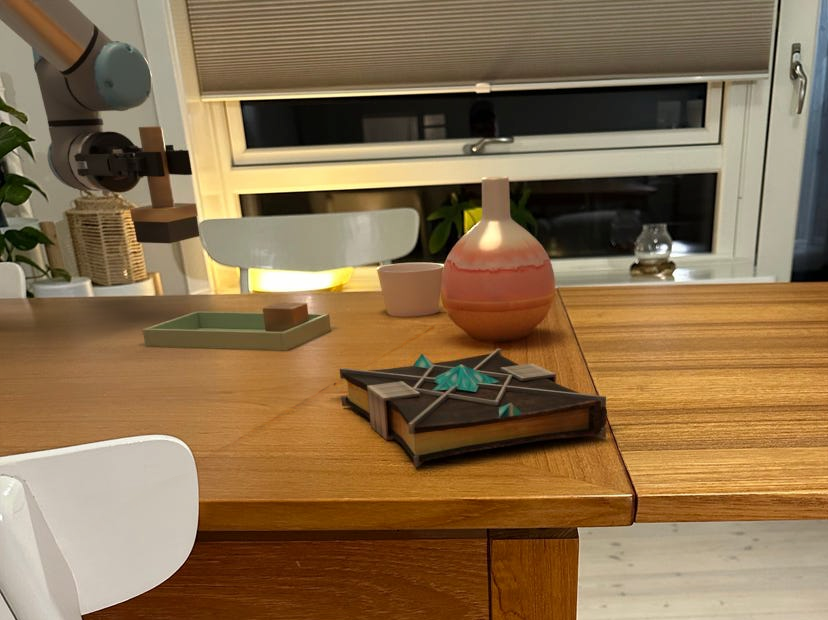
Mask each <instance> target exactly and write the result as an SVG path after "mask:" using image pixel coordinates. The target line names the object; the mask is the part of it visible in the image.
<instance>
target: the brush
mask: <svg viewBox="0 0 828 620" xmlns="http://www.w3.org/2000/svg"><path fill="white" fill-rule="evenodd" d="M138 132H139V138H140V139H139V140H140V144H141V148H142V151H143V152H161V155H162V161H163V167H164V173H165V177H150V176H146V180H147V185H148V191H149V196H150V203H151V204H148V205H142V206H137V207H131V208H129V212H130V218H131V222H133V227H134V234H135V238H136V243H139V244H140V243H141V244H173V243H178V242H182V241H186V240H190V239H195V238H199V237H200V229H199V221H198V207H197V204H196V203H194V202H192V203H191V202H190V203H189V202H188V203H186V202H175V199H174V193H173V188H172V187H173V185H172V180H171V174H169V168H168V161H167V155H166V149H165V145H166V143H165V137H164V136H165V135H164V130H163V126H161V125H159V126H158V125H157V126H156V125H154V126H138Z"/></svg>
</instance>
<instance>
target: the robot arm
mask: <svg viewBox="0 0 828 620" xmlns="http://www.w3.org/2000/svg"><path fill="white" fill-rule="evenodd" d="M0 21H1V22H3V24H5V25H6V26H7V27H8V28H9V29H10V30H12V32H14V33H15V34H16V35H17V36H18V37H20V38H21V39H22V40H23V41H24V42H25V43H27V45H29V46H30V47H31V51H32V57H33V67H34V72H35V73H36V77H37V81H38V86H39V90H40V95H41V98H42V102H43V107H44V110H45V115H46V119H47V125H48V131H49V136H50V140H51V141H50V143H49V146H48V148H47V161H48V162H47V163H48V166H49V169H50V171H51V172H52V173H53V175H54V177H55V178H56V179H57V180H58V181H59V182H61V183H62V184H63V185H64V186H67V187H69V188H72V189H74V190H77V191H87V192H88V191H90V192H101V193H102V195H103V197H108V196H110V193H117V194H119V193H121V194H122V193H127V192H129V191H132V190H133V189H134V188H135V187H136V186H137V185H138V184H139V183H140V181H141V179H143V178H145V177H147V176H150V177H165V173H164V167H163V161H162V155H161V152H143V151H142V147H139V146H138V145H136V144H135V143H134V142H133V141H132V139H130V138H129V137H127V136H126V135H125V134H122V133H119V132H117V131H110V130H109V131H105V125H104V120H103V115H102V112H113V111H115V112H116V111H117V112H124V111H126V112H127V111H128V110H130V109H131V110H132V109H134V108H137V107H140V106H142V105H143V104H144V103H146V101H147V100H148V98H150V94H151V92H152V88H153V75H152V71H151V66H150V64H149V62H148V61H147V59H146V57H145V56H144V55H143V53H142V52H141V51H140V50H139V49H138V48H136V47H135V46H133V45H131V44H128V43H127V42H123V41H118V40H112V39H111V38H110V37H109V36H108V35H107V34H106V33H104V32H103V31H102V30H101V29H100V28H99V27H98V26H97V25H96V24H95V23H94V22H93V21H92V20H90V18H88V16H87V15H85V14H84V13H83V12H82V11H81V10H80V9H79V8H78V7H77V6H76V5H75V4H74V3H73V2H72V1H71V0H0ZM174 145H175V144H165V149H166V155H167V161H168V168H169V174H170V176H171V175H172V176H173V175H174V176H175V175H176V176H192V175H193V170H192V164H191V158H190V157H191V156H190V151H189V149H177V150H175V146H174Z"/></svg>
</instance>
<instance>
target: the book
mask: <svg viewBox="0 0 828 620" xmlns="http://www.w3.org/2000/svg"><path fill="white" fill-rule="evenodd" d="M501 349H502V348H496V349H495V350H494V351H493V352H491V353H486V354H480V355H475V356H470V357H463V358H459V359H452V360H446V361H439V362H432V361H431V360H430V359H429V358H428V357H427V356H426V355H425V354H424V353H421V354H420V355H419V357H418V358H417V360H415V362H414V363H413V365H407V366H400V367H399V366H398V367H392V368H381V369H370V370H363V369H354V368H345V367H341V368H339V376H340V379H342V380H345V381H346V383H347V393H348V394H347V395H341V397H340V399H341V400H340V401H341V406H342V407H349V408H352V409H354V410H356V411H357V412H359V413H360V414H362V415H363V416H365V417H366V418H368V419H369V423H370V425H369V426H370V428H372V429H373V430H374V431H375V432H377V434H379V435H380V436H381V437H382V438H383V439H384V440H386V441H392V440H396V441H397V442H398V443H400V444H401V445H402V447H403V449H405V451H406V453H408V455H409V456H410V458H411V459H412V460H413V467H414V468H415V467H416V468H419V467H420V466H421V465H422V464H423V463H424V462H426V461H432V460H437V459H440V458H445V457H450V456H451V457H452V456H456V455H461V454H465V453H470V452H477V451H482V450H483V451H484V450H489V449H495V448H496V449H497V448H502V447H507V446H515V445H516V446H517V445H521V444H528V443H533V442H534V443H535V442H541V441H550V440H560V439H568V438H578V437H579V438H580V437H591V438H600V439H606V438H607V427H606V425H607V423H608V409H607V396H606V395H598V394H590V393H581V392H578V391H576V390H574V389H571V388H568V387H566V386H564V385H561V384H558V383H557V373H554V372H553V371H550V370H549V369H546V368H544V367H541V366H539V365H537V364H535V363H532V362H531V363H526V364H525V363H524V364H519V363H516V362H514V360H513V361H512V360H511V359H509V358H507V357H505V356H504V355H502V351H501Z"/></svg>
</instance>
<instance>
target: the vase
mask: <svg viewBox="0 0 828 620" xmlns="http://www.w3.org/2000/svg"><path fill="white" fill-rule="evenodd" d="M555 296H556V277H555V272H554V268H553V264H552V262H551V258H550V257H549V255H548V253H547V251H546V250H545V248H544V246H543V245H542V244H541V243H540V241H538V239H537V238H536V237H535V236H533V235H532V234H531V233H530V232H529V231H528V230H526V229H525V228H524V227H523V226H521V225H520V224H519V223H517V221H515V220H514V219H513V218H512V217H511V199H510V179H509V177H508V176H488V177H482V179H481V219H480V220H479V221H478V222H477V223H476V224H474V225H473V226H472V227H471V228H470V229H469V230H468V231H467V232H466V233H464V235H462V236H461V237H460V239H459V240H457V242H456V243H455V244H454V246H452V248H451V250H450V251H449V253H448V255H447V257H446V259H445V262H444V264H443V271H442V276H441V293H440V299H441V302H442V305H443V308H444V311H445V313H446V314H447V316H448V317H449V318H450V320H451V321H452V322H453V324H455V326H457V327H458V328H460V329H461V330H462V331H463V332H464V333H465V334H466V335H467V336H468V337H469V338H470V339H472V340H474V341H477V342H484V343H508V342H514V341H519V340H522V339H524V338H526V337H528V336H529V335H530V334H531V333H532V331H533V330H534V329H535V328H537V327H538V326H539V325H540V324H541V323H542V322H543V321H544V320H545V318H546V317H547V316H548V314H549V312H550V310H551V308H552V307H553V304H554V301H555Z"/></svg>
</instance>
